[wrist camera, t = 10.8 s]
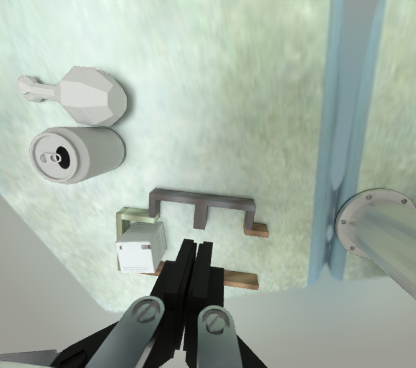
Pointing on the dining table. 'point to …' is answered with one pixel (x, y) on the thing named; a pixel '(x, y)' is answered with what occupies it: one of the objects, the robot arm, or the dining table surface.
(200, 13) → the dining table surface
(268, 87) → the dining table surface
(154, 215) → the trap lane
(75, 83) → the chicken leg
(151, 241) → the skincare box
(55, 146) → the can
